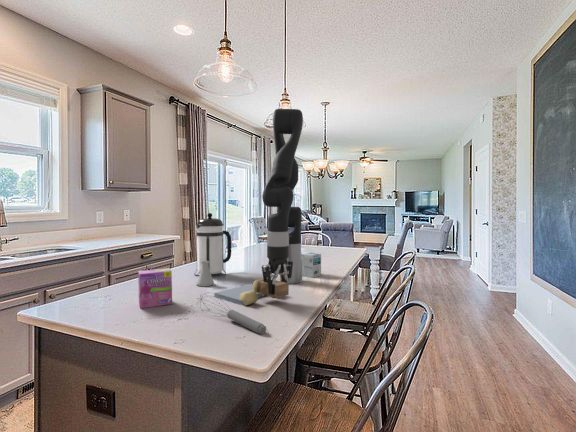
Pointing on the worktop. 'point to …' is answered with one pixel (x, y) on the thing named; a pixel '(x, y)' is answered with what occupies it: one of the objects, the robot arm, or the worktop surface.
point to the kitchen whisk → (240, 318)
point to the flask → (205, 275)
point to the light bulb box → (311, 264)
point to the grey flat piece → (240, 295)
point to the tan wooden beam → (280, 288)
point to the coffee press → (211, 244)
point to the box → (155, 287)
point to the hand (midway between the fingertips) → (277, 292)
